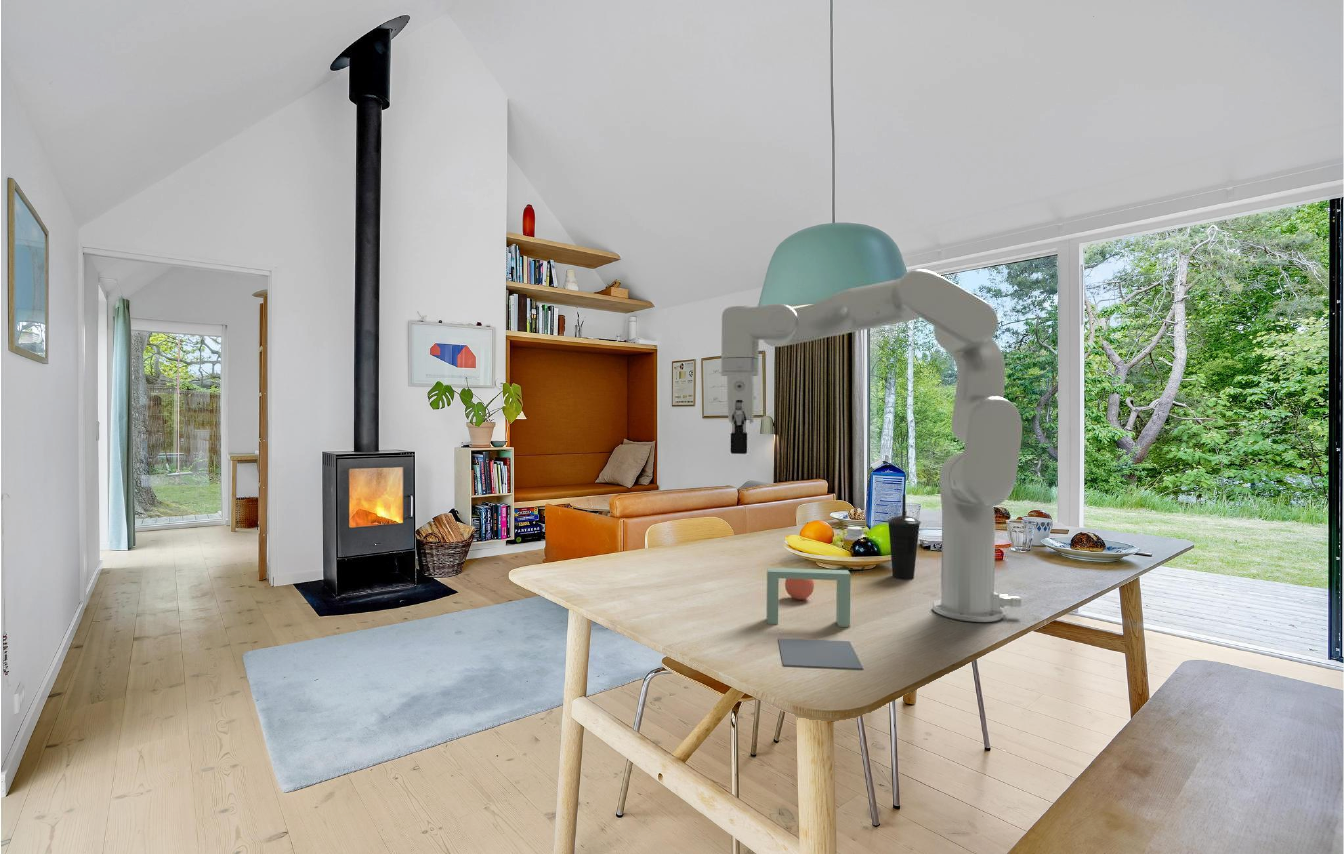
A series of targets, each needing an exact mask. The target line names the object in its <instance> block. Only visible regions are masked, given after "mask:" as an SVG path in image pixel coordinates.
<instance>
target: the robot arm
mask: <svg viewBox="0 0 1344 854" xmlns="http://www.w3.org/2000/svg"><path fill="white" fill-rule="evenodd" d="M919 318H921V319H922V320H923V321H926V322H927V323H929V324H931V325H932V326H933V327H934V328H933V329H934V330H933V332H934V333H933V334H934V339H935V340H936V342H937V344H938V345H939V346H940V347H941V348H942V349H944V350H945V351H947V353H949V354H950V356H951V357H952V358H953V360H954V363H955V365H956V388H955V396H954V403H953V411H952V417H951V431H952V433H953V436H954V437H955V438H956V439H957V440H958V441H960V442H962V443H963V444H964V449H963V452H959V453H956V454H954V455H952V456H950V457H948V459H946V460H945V462H944V463H943V465H942V466H941V469H940V472H939V479H938V481H939V482H938V483H939V494H940V501H941V502H940V503H941V569H940V570H941V575H940V576H941V579H940V581H941V583H940V584H941V587H940V589H941V591H940V599H937V600H935V601H934V602H932V610H933V611H934V612H935V613H937V614H938V615H940V616H943V617H946V618H949V619H953V620H958V621H964V622H975V623H989V622H990V623H991V622H997V621H1000V620H1002V619H1003V618H1004V611H1003V610H1002V609H1003V608H1005V607H1011V608H1020V607H1022V599H1021V597H1020V596H1009V595H1008V594H1000V593H998V592H997V591H996V590H995V565H996V563H995V561H996V554H995V553H996V552H995V551H996V549H995V548H996V516H995V514H996V513H995V506H998V505H1000V504H1003V502H1005V501H1006V500H1007V499H1008V498H1009V497H1010V495H1011V494H1012V492H1013V490H1014V487H1015V484H1016V481H1017V473H1018V467H1019V460H1020V453H1021V446H1022V435H1023V421H1022V417H1021V414H1020V412H1019V410H1018V408H1017V406H1015V404H1013V403H1012V402H1011V401H1010V400H1008V399H1007V398H1004V397H1005V396H1004V395H1005V381H1006V363H1005V358H1004V355H1003V353H1002V350H1001V349H1000V347H999V345H998V344H997V342H996V340H995V339H994V338H993V337H994V336H995V334H996V332H997V329H998V327H999V320H998V315H997V312H996V311H995V309H994V308H993V307H992V306H991V305H990V304H989V303H988V302H987V301H985V300H983V299H982V298H980V297H978V296H977V295H975V294H973V293H971V292H970V291H968V290H967V289H964V288H963V287H961V286H960V285H957V284H956V283H954V282H952V281H950V280H949V279H947V278H945V277H943V276H941V275H939V274H937V273H936V272H934V271H931V270H928V269H924V268H923V269H922V268H919V269H918V268H917V269H914V270H909V272H907V273H905V274H904V275H902V277H900V278H897V279H892V280H887V281H882V282H879V283H873V284H869V285H864V286H863V285H861V286H857V287H851V288H848V289H844V290H840V291H838V292H835V293H834V294H832V295H831V296H829V297H826V298H824V299H823V300H820V301H818V302H815V303H812V304H807V305H804V306H799V307H795V308H793V307H791V306H790V305H788V304H784V303H772V304H766V305H760V306H748V305H747V306H746V305H734V306H729V307H726V308H725V309H723V312H722V313H721V361H720V362H721V363H720V364H721V365H720V367H721V368H720V369H721V371H720V373H721V374H720V375H721V376H724V377H726V399H727V400H726V401H727V402H726V403H727V404H726V405H727V406H726V407H727V415H728V417H727V418H728V422H729V423H730V424H731V433H730V453H731V454H733V455H737V454H739V455H746V454H747V453H748V432H747V421H749V424H750V425H751V424H753V423H754V409H755V408H754V403H755V402H754V399H755V398H754V397H755V396H754V394H755V390H754V389H755V388H754V377H756V376H757V377H758V376H759V352H760V351H759V350H760V349H759V348H760V347H759V343H760V341H763V342H764V343H765V344H766V345H768V346H771V347H775V348H776V347H785V346H791V345H797V344H800V343H806V342H811V341H815V340H820V339H821V340H822V339H825V338H829V337H836V336H841V335H846V334H849V333H855V332H859V331H863V330H869V329H873V328H878V327H885V326H890V325H896V324H900V323H906V322H909V321H913V320H917V319H919Z"/></svg>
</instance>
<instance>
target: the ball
mask: <svg viewBox="0 0 1344 854" xmlns="http://www.w3.org/2000/svg"><path fill="white" fill-rule="evenodd" d="M784 586H785V591H786V592H787V594H788V596H790V597H791V598H793V599H795V600H800V601H801V600H806V599H808V598H809V597H810V596H811V595H812V594H813V592H814V588H815V583H814V579H785V582H784Z"/></svg>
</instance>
